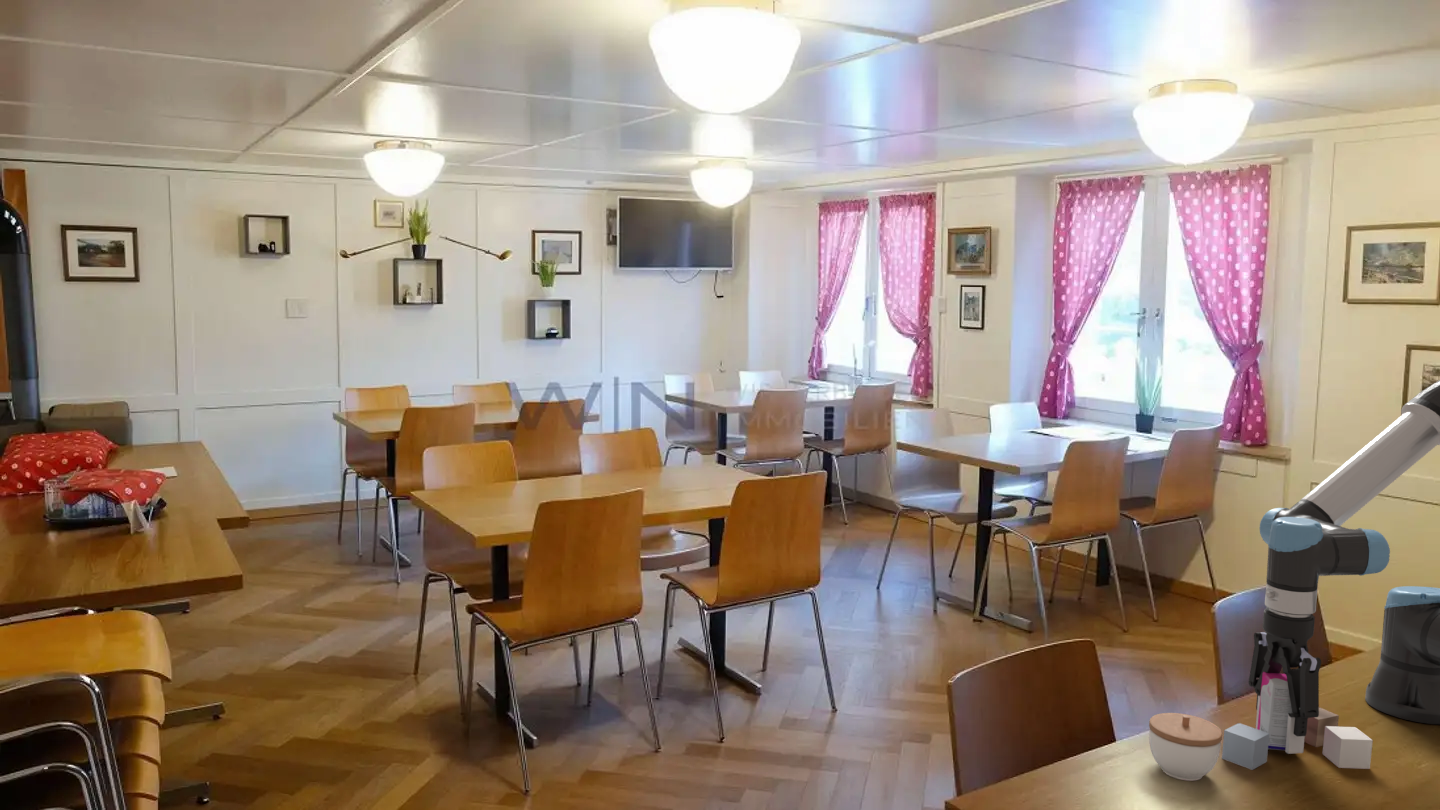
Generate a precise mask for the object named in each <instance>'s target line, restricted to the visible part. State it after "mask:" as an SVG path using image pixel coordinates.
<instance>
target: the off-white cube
mask: <svg viewBox="0 0 1440 810" xmlns="http://www.w3.org/2000/svg"><path fill="white" fill-rule="evenodd" d="M1373 741H1374V740H1373V739H1372V738H1370V737H1369V736H1368V735H1367V734H1365V733H1364V732H1363V731H1361V730H1360V729H1358V728H1357V727H1355V726H1338V727H1337V726H1325V733H1324V743H1323V746H1322V755H1323V756H1325V758H1327V760H1328V761H1330V762H1331V763H1333V764H1334V766H1336V767H1338V769H1341V768H1342V769H1362V770H1364V769H1365V770H1369V769H1371V761H1372V760H1371V759H1372V749H1373Z"/></svg>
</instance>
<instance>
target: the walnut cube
mask: <svg viewBox="0 0 1440 810" xmlns="http://www.w3.org/2000/svg"><path fill="white" fill-rule="evenodd" d="M1339 717H1340V715H1339V714H1337V713H1334V712H1331V711H1330V710H1327V709H1325V708H1322V707H1319V716H1318V717H1312V718H1308V721H1307V733H1306V736H1305V737H1304V743H1306V744H1308V745H1310V746H1312V747H1315V748H1319V747H1323V743H1324V733H1325V726H1337V727H1339V719H1340V718H1339Z"/></svg>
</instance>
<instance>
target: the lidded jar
mask: <svg viewBox="0 0 1440 810" xmlns="http://www.w3.org/2000/svg"><path fill="white" fill-rule="evenodd" d="M1148 723H1149V724H1148V727H1149V733H1148V735H1149V737H1148V739H1149V748H1150V752H1151V755H1152V757H1153V759H1154V761H1155V762H1156V764H1157V765H1158V766H1159V767H1160V768H1161V771H1162V770H1163V771H1162V772H1163V773H1164V772H1165V773H1166V775H1167V776H1168V777H1171V778H1173V779H1177V780H1180V781H1187V782H1190V781H1191V782H1195V781H1200V780H1201V779H1202V778H1203V776H1205V775H1207V774H1208V773H1210V772H1211V771H1212V770H1213V769H1214V767H1215V766H1216V763H1217V762H1218V760H1219V756H1220V753H1221V752H1220V751H1221V746H1222V745H1221V744H1222V743H1221V742H1222V739H1223V732H1222V729H1221V728H1220V727H1219V726H1217V725H1216V724H1215V723H1213V722H1211V721H1209V720H1206V718H1203V717H1200V716H1195V715H1193V714H1192V715H1191V714H1186V713H1180V712H1179V713H1178V712H1163V713H1157V714H1155V715H1153V716H1151V717H1150V719H1149V722H1148ZM1165 773H1164V774H1165Z"/></svg>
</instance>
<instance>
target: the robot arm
mask: <svg viewBox="0 0 1440 810" xmlns="http://www.w3.org/2000/svg"><path fill="white" fill-rule="evenodd" d="M1400 411H1401V415H1400V416H1399V417H1397V419H1395V420H1394V421H1393V422H1392V423H1391V424H1389V425H1388V426H1387V427H1386V428H1385V429H1383V430H1382V431H1381V432H1380V433H1379V434H1377V435H1376V436H1375V437H1374V438H1373V439H1371V440H1370V441H1369V442H1368V443H1366V444H1365V445H1364V446H1363V447H1362V448H1360V449H1359V450H1358V451H1357V452H1356V453H1355V454H1353V455H1352V456H1351V457H1350V458H1348V459H1347V460H1346V461H1345V462H1344V463H1342V465H1340V466H1339V467H1338V468H1337V469H1336V470H1334V471H1333V472H1332V473H1331V474H1329V475H1328V476H1327V477H1326V478H1325V479H1323V481H1321V482H1320V483H1319V484H1318V485H1316V486H1315V487H1314V488H1313V489H1312V490H1311V491H1309V492H1308V493H1307V494H1306V495H1304V496H1303V497H1302V498H1301V499H1300V500H1299V501H1298V502H1296V503H1295V504H1294V505H1293V506H1291V507H1290V508H1288V507H1274V508H1272V509H1270V510H1268V511H1266V512H1265V514H1263V517H1262V518H1261V520H1260V522H1259V534H1260V537H1261V538H1262V541H1264V543H1266V544H1267V549H1268V550H1267V565H1266V566H1267V567H1266V587H1265V596H1264V606H1265V607H1266V608H1265V609H1263V615H1262V616H1263V618H1262V629H1263V631H1262V632H1254V633H1253V643H1254V645H1253V646H1254V647H1253V652H1252V653H1253V654H1252V659H1251V665H1250V670H1249V678H1248V685H1249V687H1253V688H1254V693H1255V694H1256V703H1255V704H1256V705H1255V708H1256V709H1255V710H1256V718H1255V719H1256V720H1255V721H1256V722H1255V729H1257V727H1258V716H1259V706H1260V696H1261V685H1262V675H1263V672H1266V673H1280V674H1281V671H1282V672H1283V673H1282V674H1286V676H1287V682H1288V689H1289V695H1290V701H1291V708H1292V713H1288V724H1287V737H1286V749H1285V750H1284V751H1285V753H1286V754H1288V755H1289V754H1290V755H1291V754H1303V753H1304V749H1305V748H1304V747H1305V742H1304V737H1305V736H1306V733H1307V721H1308V718H1312V717H1318V716H1319V705H1320V702H1319V701H1320V693H1319V692H1320V688H1319V686H1320V685H1319V683H1320V682H1319V681H1320V677H1319V676H1320V675H1319V674H1320V673H1319V672H1320V669H1321V666H1322V659H1321V658H1320V657H1313V656H1312V655H1311V654H1310V653H1309V648H1308V642H1309V640H1310V639H1311V638H1312V637H1313V636H1314V633H1315V622H1316V621H1315V618H1316V617H1315V616H1314V614H1315V613H1316V612H1317V601H1318V600H1317V599H1318V597H1317V596H1318V588H1319V587H1318V586H1319V585H1318V584H1319V579H1320V577H1327V576H1364V575H1371V574H1378V573H1381V572H1382V571H1383V570H1385V569H1386V568H1387V566H1388V565H1389V562H1390V554H1391V550H1390V549H1391V548H1390V545H1389V543H1388V540H1387V539H1386V538H1385V536H1384V535H1383V534H1382V533H1381V532H1379V531H1378V530H1375V529H1369V528H1361V527H1359V528H1355V529H1353V528H1348V527H1347V528H1346V527H1345V526H1342V525H1343V524H1345V523H1346V522H1347V521H1348V520H1350V518H1352V517H1353V516H1354V515H1355V514H1357V513H1358V512H1359V511H1360V510H1362V508H1364V507H1365V506H1366V505H1367V504H1369V503H1370V502H1371V501H1372V500H1374V498H1376V497H1377V496H1378V495H1379V494H1381V493H1382V492H1383V491H1384V490H1385V489H1386V488H1388V487H1389V486H1390V485H1391V484H1393V483H1394V482H1395V481H1397V479H1398V478H1400V477H1401V476H1402V475H1403V474H1405V473H1406V472H1407V471H1408V470H1409V469H1411V468H1412V466H1414V465H1415V464H1416V463H1417V462H1419V461H1420V460H1421V459H1422V458H1424V456H1426V455H1427V454H1428V453H1430V452H1431V451H1432V450H1433V449H1435V448H1436V447H1437V446H1440V379H1439V380H1437V381H1435V382H1434V383H1433V384H1431V385H1429V386H1428V387H1426V388H1424V389H1423V390H1422V391H1420V392H1419V393H1417V394H1416V395H1415V396H1414V397H1413V398H1411V399H1410V400H1409V401H1407V402H1406V403H1405V404H1404V405H1402V408H1401V410H1400ZM1383 611H1384V612H1383V623H1382V634H1381V635H1382V636H1381V647H1380V648H1381V649H1380V657H1379V663H1378V665H1377V667H1376V669H1375V671H1374V673H1373V676H1372V679H1371V680H1370V682H1368V684H1367V686H1366V689H1365V701H1366V703H1367V704H1368V705H1369V706H1370V707H1372V708H1374V709H1375V710H1377V711H1379V712H1382V713H1384V714H1387V715H1390V716H1392V717H1395V718H1399V719H1401V720H1402V719H1403V720H1406V721H1411V722H1415V723H1422V724H1428V725H1440V588H1439V587H1432V586H1431V587H1430V586H1417V585H1412V586H1411V585H1405V586H1403V585H1402V586H1396V587H1393V588H1391V589H1389V591H1388V592H1387V596H1386V602H1385V605H1384V609H1383ZM1299 708H1300V709H1299Z"/></svg>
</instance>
